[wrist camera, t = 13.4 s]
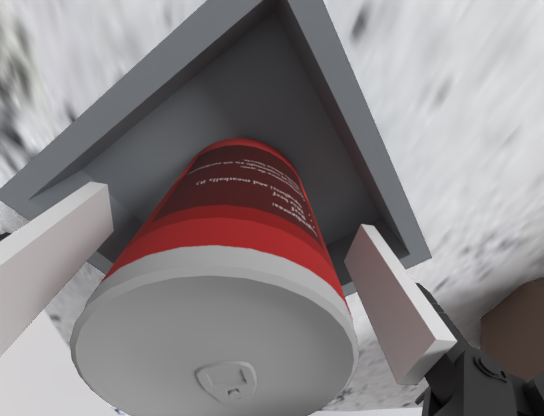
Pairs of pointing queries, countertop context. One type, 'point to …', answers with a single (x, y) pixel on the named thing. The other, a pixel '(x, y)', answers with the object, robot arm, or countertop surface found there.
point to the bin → (232, 128)
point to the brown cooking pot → (517, 331)
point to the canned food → (221, 299)
